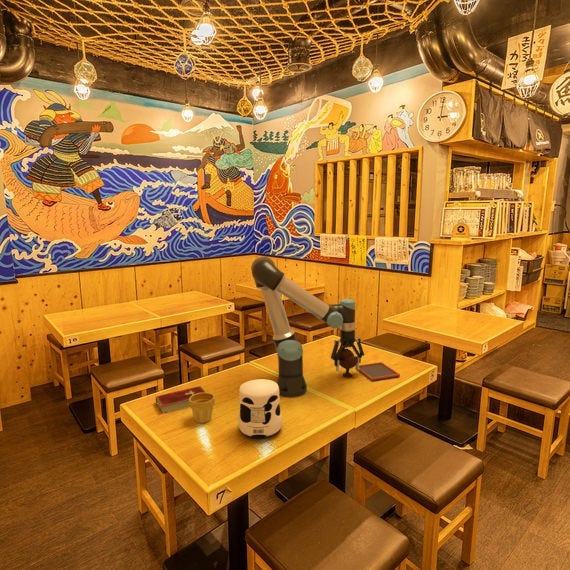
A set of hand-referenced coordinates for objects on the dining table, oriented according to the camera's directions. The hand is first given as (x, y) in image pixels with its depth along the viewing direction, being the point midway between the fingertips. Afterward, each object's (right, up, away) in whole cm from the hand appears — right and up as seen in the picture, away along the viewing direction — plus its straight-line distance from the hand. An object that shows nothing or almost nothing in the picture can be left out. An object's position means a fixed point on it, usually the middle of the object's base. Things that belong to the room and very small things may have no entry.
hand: (347, 370), depth 206 cm
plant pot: (-67, -12, -40) cm, 79 cm away
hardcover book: (-80, -10, -25) cm, 84 cm away
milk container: (-42, -13, -50) cm, 66 cm away
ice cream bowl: (0, -3, 0) cm, 3 cm away
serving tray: (+16, -2, +3) cm, 16 cm away
